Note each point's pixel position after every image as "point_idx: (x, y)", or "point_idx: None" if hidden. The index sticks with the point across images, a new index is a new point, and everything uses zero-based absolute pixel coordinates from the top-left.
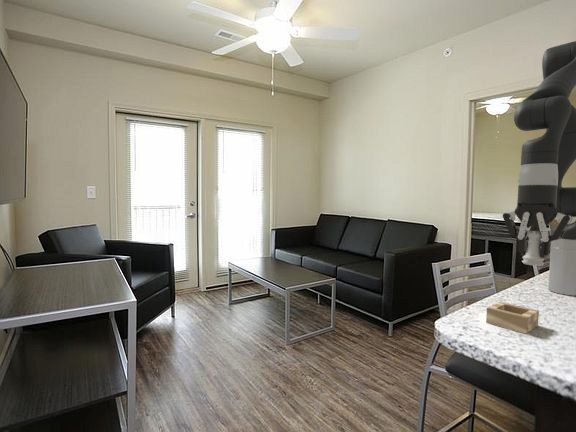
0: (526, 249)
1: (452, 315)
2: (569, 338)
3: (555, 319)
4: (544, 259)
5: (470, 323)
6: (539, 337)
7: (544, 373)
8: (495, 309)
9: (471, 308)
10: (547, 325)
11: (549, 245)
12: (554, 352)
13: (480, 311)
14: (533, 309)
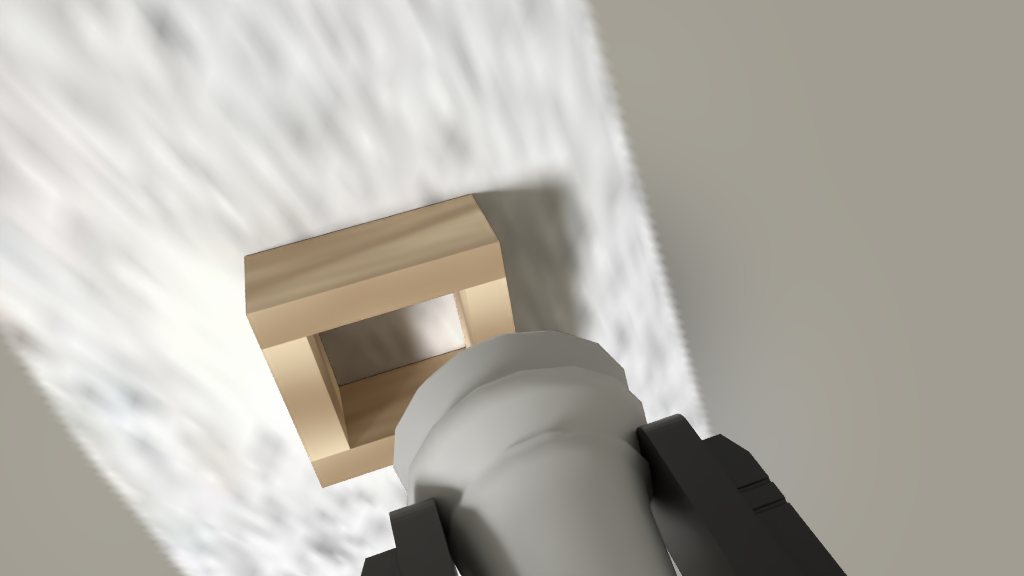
0: (455, 571)
1: (147, 507)
2: (640, 221)
3: None
4: (642, 406)
5: (291, 496)
6: None
7: None
8: (364, 464)
9: (32, 313)
10: (496, 131)
11: (813, 570)
12: (650, 415)
13: (120, 305)
14: (467, 250)
